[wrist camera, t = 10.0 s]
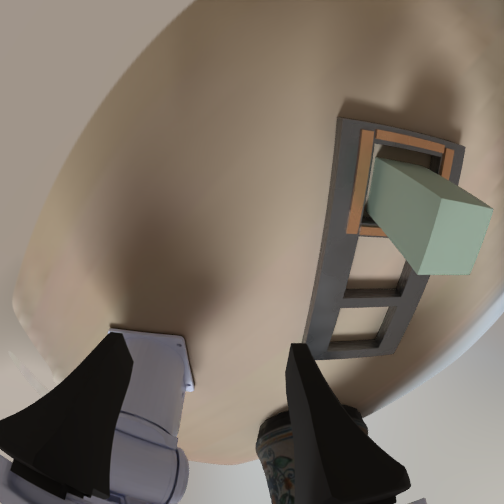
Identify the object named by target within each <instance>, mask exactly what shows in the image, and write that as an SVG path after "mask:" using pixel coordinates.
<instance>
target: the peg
mask: <svg viewBox="0 0 504 504" xmlns="http://www.w3.org/2000/svg"><path fill="white" fill-rule="evenodd" d="M366 212H367V213H368V214H369V215H370V216H371V217H372V219H373V220H374V221H375V222H376V223H377V224H378V226H379V227H380V228H381V229H382V230H383V232H384V233H385V234H386V235H387V236H388V238H389V239H390V240H391V241H392V243H393V244H394V245H395V246H396V248H397V249H398V250H399V251H400V253H401V254H402V255H403V256H404V258H405V259H406V260H407V262H408V263H409V264H410V266H411V267H412V268H413V270H414V271H415V272H416V274H417V275H470V273H471V270H472V268H473V265H474V263H475V261H476V258H477V256H478V253H479V251H480V248H481V245H482V243H483V240H484V237H485V234H486V231H487V228H488V225H489V222H490V219H491V216H492V213H493V208H491V207H490V206H488V205H487V204H485V203H484V202H482V201H481V200H479V199H478V198H476V197H475V196H473V195H472V194H470V193H468V192H467V191H465V190H464V189H462V188H460V187H459V186H457V185H455V184H454V183H452V182H450V181H449V180H447V179H445V178H443V177H442V176H440V175H438V174H436V173H435V172H433V171H431V170H429V169H427V168H425V167H423V166H420V165H416V164H411V163H406V162H401V161H396V160H390V159H385V158H379V157H376V158H375V164H374V170H373V176H372V182H371V187H370V193H369V198H368V203H367V208H366Z"/></svg>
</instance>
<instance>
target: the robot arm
mask: <svg viewBox="0 0 504 504" xmlns="http://www.w3.org/2000/svg"><path fill="white" fill-rule="evenodd" d="M285 376H286V395H287V402H288V408H289V415H290V421H291V427H292V434H293V442H294V464H295V501H294V504H394V503H396V495H398V494H400V493H402V492H404V491H406V490H408V489H409V488H410V487H411V484H410V479H409V476H408V474H407V471H406V469H405V467H404V466H403V465H401V464H400V463H399V462H397V461H396V460H394V459H393V458H392V457H391V456H389V455H388V454H387V453H386V452H385V451H383V450H382V449H381V448H380V447H379V446H378V445H377V444H376V443H374V441H373V440H372V439H371V438H370V437H369V436H368V435H367V434H366V433H365V432H364V431H363V430H362V429H361V428H360V427H359V426H358V425H357V424H356V422H355V421H354V420H353V419H352V418H351V416H350V415H349V414H348V413H347V411H346V410H345V409H344V407H343V406H342V405H341V403H340V402H339V400H338V399H337V398H336V396H335V395H334V393H333V391H332V390H331V388H330V387H329V385H328V383H327V382H326V380H325V378H324V377H323V375H322V373H321V371H320V369H319V368H318V366H317V364H316V362H315V360H314V358H313V356H312V354H311V351H310V349H309V347H308V345H307V344H306V343H291V347H290V352H289V357H288V362H287V367H286V371H285ZM185 391H190V392H192V391H194V383H193V379H192V374H191V370H190V365H189V360H188V355H187V350H186V345H185V340H184V338H183V337H181V336H177V335H166V334H155V333H146V332H137V331H128V330H120V329H113V328H110V329H109V331H108V335H107V336H106V337H105V338H104V339H103V340H102V341H101V342H100V343H99V344H98V345H97V346H96V348H95V349H94V350H93V351H92V352H91V353H90V354H89V355H88V356H87V357H86V358H85V359H84V360H83V361H82V363H81V364H80V365H79V366H78V367H77V368H76V369H75V370H74V371H73V372H72V373H71V374H70V375H69V376H67V377H66V378H65V379H64V380H63V381H62V382H61V383H60V384H59V385H58V386H56V387H55V388H54V389H53V390H51V391H50V392H49V393H48V394H46V395H45V396H43V397H42V398H41V399H39V400H38V401H36V402H35V403H33V404H32V405H30V406H28V407H27V408H25V409H23V410H21V411H20V412H18V413H16V414H14V415H11V416H9V417H7V418H5V419H2V420H0V449H1V450H2V451H4V452H5V453H6V454H8V455H9V456H11V457H12V458H13V459H14V460H13V463H12V462H11V461H9V460H8V459H6V458H4V457H3V456H1V455H0V502H1V503H2V504H177V503H178V502H179V501H180V500H181V499H182V497H183V495H184V493H185V490H186V487H187V482H188V476H189V464H188V459H187V457H186V455H185V453H184V451H183V450H182V449H181V448H179V447H177V442H178V438H177V437H176V436H177V434H178V431H179V427H180V420H181V414H182V408H183V403H184V397H185ZM409 504H426V499H425V498H422V499H420V500H417V501H414V502H411V503H409Z"/></svg>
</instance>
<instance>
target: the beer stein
mask: <svg viewBox="0 0 504 504" xmlns="http://www.w3.org/2000/svg"><path fill="white" fill-rule="evenodd" d="M341 405H342V406H343V407H344V409H345V410H346V411H347V413H348V414H349V415H350V416H351V418H352V419H353V420H354V421H355V422H356V424H357V425H358V426H359V427H360V428H361V429H362V430H363V431H364V432H365V433H366V434H367V435H368V428H367V426H366V424H365V423H364V421H363V419H362V417H361V414H360V413H359V412H358V410H357V409H356V408H353V407H350V406H347V405H343V404H341ZM256 453H257V455H258V457H259V459H260V461H261V463H262V466H263V470H264V472H265V476H266V479H267V484H268V488H269V492H270V497H271V500H272V504H294V501H295V464H294V442H293V434H292V427H291V421H290V415H289V411H286V412H283V413H280V414H278V415H276V416H274V417H272V418H270V419H268V420H266V421H265V422H264V423H263V424H262V425H261V426H260V429H259V434H258V438H257V442H256Z"/></svg>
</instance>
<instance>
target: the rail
mask: <svg viewBox="0 0 504 504" xmlns="http://www.w3.org/2000/svg"><path fill="white" fill-rule="evenodd" d="M374 143H376V144H382V145H388V146H393V147H398V148H403V149H408V150H413V151H418V152H422V153H426V154H431V155H432V159H431V164H430V170H431V171H433V172H435V173H436V174H438V175H440V176H442V177H443V178H445V179H447V180H449V181H450V182H452V183H454V184H455V185H457V186H458V183H459V178H460V174H461V169H462V164H463V158H464V153H465V147H464V146H462V145H459V144H457V143H453V142H450V141H447V140H444V139H440V138H437V137H433V136H429V135H426V134H422V133H418V132H414V131H410V130H405V129H401V128H397V127H392V126H387V125H382V124H377V123H372V122H366V121H361V120H354V119H348V118H341V117H337V125H336V136H335V146H334V156H333V164H332V173H331V181H330V189H329V196H328V203H327V210H326V217H325V224H324V230H323V236H322V242H321V248H320V254H319V260H318V266H317V271H316V277H315V282H314V287H313V292H312V297H311V302H310V307H309V312H308V317H307V321H306V326H305V331H304V335H303V339H302V343H306V344H307V345H308V347H309V349H310V351H311V354H312V356H313V358H314V360H330V359H346V358H359V357H370V356H380V355H389V354H394V352H395V350H396V348H397V346H398V344H399V343H400V341H401V339H402V337H403V335H404V333H405V331H406V329H407V327H408V325H409V323H410V320H411V318H412V316H413V314H414V312H415V310H416V307H417V305H418V303H419V301H420V298H421V296H422V294H423V291H424V289H425V287H426V284H427V282H428V279H429V277H430V275H417V274H416V272H415V271H414V270H413V268H412V267H411V266H410V264H409V263H408V262H407V260H406V262H405V265H404V268H403V271H402V274H401V277H400V279H399V282H398V285H397V288H396V289H346V285H347V282H348V278H349V274H350V270H351V266H352V262H353V258H354V253H355V249H356V245H357V240H358V236H365V237H384V238H388V236H387V235H386V234H385V233H384V232H383V230H382V229H381V228H380V227H379V226H378V224H377V223H376V222H375V221H374V220H373V219H372V217H364V216H363V211H364V206H365V201H366V195H367V190H368V184H369V178H370V171H371V165H372V158H373V151H374ZM387 306H389V309H388V311H387V314H386V316H385V318H384V321H383V323H382V325H381V328H380V330H379V332H378V335H377V337H376V339H374V340H361V341H344V342H330V340H331V337H332V334H333V330H334V327H335V324H336V321H337V317H338V314H339V310H340V308H360V307H387Z"/></svg>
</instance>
